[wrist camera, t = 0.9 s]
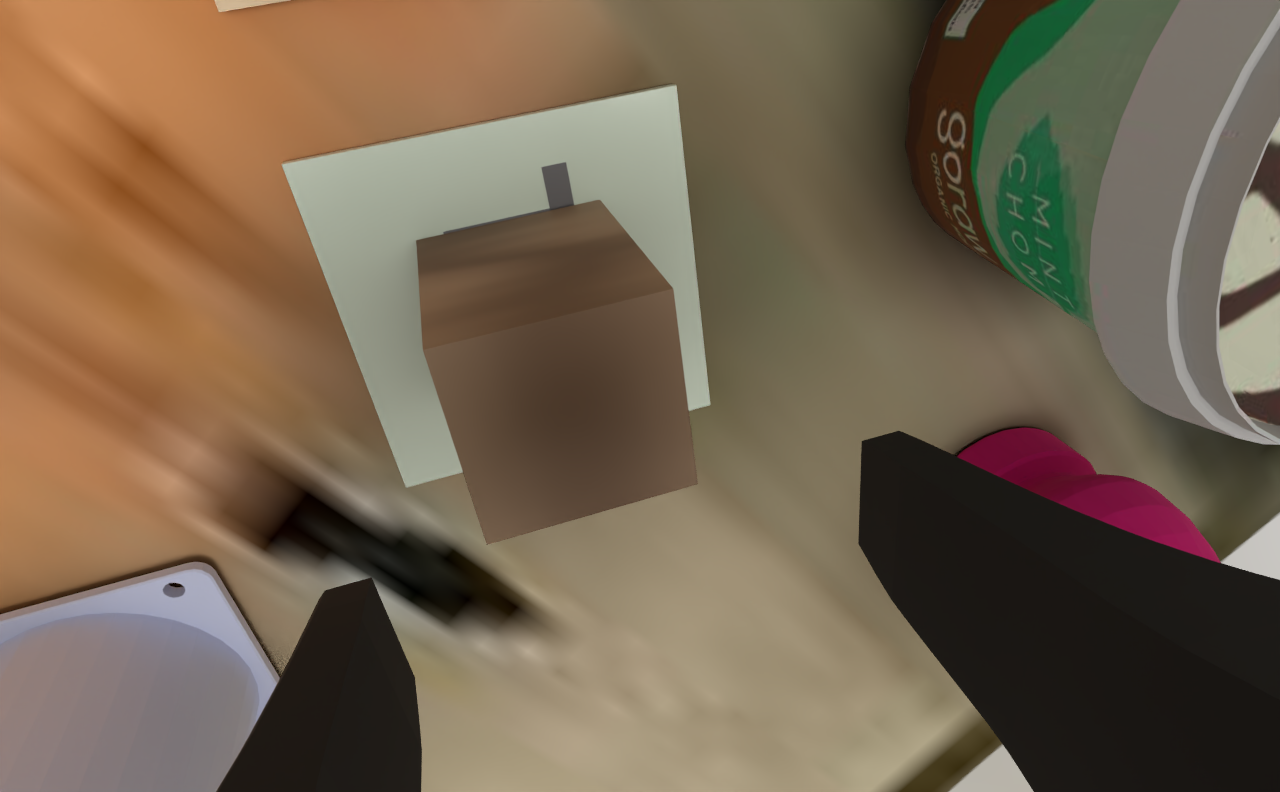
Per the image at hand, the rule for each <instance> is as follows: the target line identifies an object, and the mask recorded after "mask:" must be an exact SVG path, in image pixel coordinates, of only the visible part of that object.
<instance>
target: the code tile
mask: <svg viewBox="0 0 1280 792" xmlns="http://www.w3.org/2000/svg"><path fill="white" fill-rule="evenodd" d="M282 167H283V169H284V172H285V175H286V177H287V180H288V182H289V185H290V188H291V190H292V193H293V195H294V198H295V201H296V203H297V206H298V208H299V211H300V214H301V216H302V219H303V221H304V224H305V227H306V229H307V232H308V234H309V237H310V240H311V242H312V245H313V247H314V250H315V253H316V255H317V258H318V260H319V263H320V266H321V268H322V271H323V273H324V276H325V279H326V281H327V284H328V286H329V289H330V292H331V294H332V297H333V299H334V302H335V305H336V307H337V310H338V312H339V315H340V318H341V320H342V323H343V325H344V328H345V331H346V333H347V336H348V338H349V341H350V344H351V346H352V349H353V351H354V354H355V357H356V359H357V362H358V364H359V367H360V370H361V372H362V375H363V377H364V380H365V382H366V385H367V388H368V390H369V393H370V395H371V398H372V401H373V403H374V406H375V408H376V411H377V414H378V416H379V419H380V421H381V424H382V427H383V429H384V432H385V434H386V437H387V440H388V442H389V445H390V447H391V450H392V453H393V455H394V458H395V460H396V463H397V466H398V468H399V471H400V473H401V476H402V479H403V481H404V484H405V486H406V488H407V487H410V486H414V485H418V484H421V483H425V482H429V481H433V480H436V479H440V478H444V477H447V476H451V475H455V474H458V473H462V472H463V471H462V468H461V464H460V461H459V458H458V455H457V452H456V449H455V446H454V443H453V440H452V437H451V434H450V431H449V428H448V425H447V422H446V419H445V416H444V413H443V410H442V407H441V404H440V401H439V398H438V395H437V392H436V389H435V386H434V383H433V380H432V377H431V374H430V370H429V367H428V364H427V361H426V358H425V355H424V352H423V346H422V329H421V312H420V296H419V279H418V262H417V246H416V240H420V239H424V238H429V237H433V236H438V235H442V234H447V233H451V232H456V231H460V230H465V229H469V228H474V227H478V226H483V225H487V224H492V223H496V222H501V221H505V220H510V219H514V218H519V217H523V216H528V215H532V214H537V213H541V212H546V211H550V210H555V209H559V208H564V207H568V206H573V205H577V204H582V203H586V202H591V201H595V200H601V201H602V203H603V204H604V205H605V206H606V208H607V209H608V210H609V211H610V212H611V214H612V215H613V216H614V217H615V218H616V220H617V221H618V222H619V223H620V225H621V226H622V227H623V228H624V229H625V231H626V232H627V233H628V234H629V235H630V237H631V238H632V239H633V240H634V242H635V243H636V244H637V245H638V246H639V248H640V249H641V250H642V251H643V252H644V254H645V255H646V256H647V257H648V259H649V260H650V261H651V262H652V263H653V265H654V266H655V267H656V268H657V269H658V271H659V272H660V273H661V274H662V276H663V277H664V278H665V279H666V280H667V282H668V283H669V284H670V285H671V286H672V288H673V290H674V298H675V306H676V314H677V322H678V330H679V338H680V346H681V354H682V362H683V370H684V378H685V386H686V393H687V401H688V409H689V411H690V410H694V409H698V408H701V407H705V406H709V405H710V397H709V387H708V378H707V368H706V359H705V350H704V340H703V331H702V321H701V312H700V303H699V293H698V284H697V274H696V265H695V256H694V246H693V237H692V227H691V218H690V209H689V199H688V190H687V180H686V171H685V162H684V152H683V143H682V133H681V124H680V115H679V105H678V96H677V87H676V85H675V84H669V85H664V86H659V87H654V88H649V89H644V90H639V91H634V92H629V93H624V94H619V95H614V96H609V97H604V98H599V99H594V100H589V101H584V102H579V103H574V104H569V105H564V106H559V107H554V108H549V109H544V110H539V111H535V112H530V113H525V114H520V115H515V116H510V117H505V118H500V119H495V120H490V121H485V122H480V123H475V124H470V125H465V126H460V127H455V128H450V129H445V130H440V131H435V132H430V133H425V134H420V135H415V136H410V137H405V138H400V139H395V140H390V141H385V142H380V143H375V144H370V145H365V146H360V147H355V148H350V149H345V150H340V151H335V152H330V153H325V154H320V155H315V156H310V157H305V158H300V159H295V160H290V161H285V162H283V163H282Z"/></svg>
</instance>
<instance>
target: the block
mask: <svg viewBox="0 0 1280 792" xmlns="http://www.w3.org/2000/svg"><path fill="white" fill-rule="evenodd" d="M416 246H417V262H418V279H419V296H420V312H421V329H422V346H423V352H424V355H425V358H426V361H427V364H428V367H429V370H430V374H431V377H432V380H433V383H434V386H435V389H436V392H437V395H438V398H439V401H440V404H441V407H442V410H443V413H444V416H445V419H446V422H447V425H448V428H449V431H450V434H451V437H452V440H453V443H454V446H455V449H456V452H457V455H458V458H459V461H460V464H461V468H462V471H463V474H464V477H465V480H466V483H467V486H468V489H469V492H470V495H471V498H472V501H473V504H474V507H475V510H476V513H477V516H478V519H479V522H480V525H481V528H482V531H483V534H484V537H485V540H486V543H487V545H488V544H491V543H495V542H498V541H501V540H505V539H508V538H512V537H515V536H519V535H522V534H526V533H529V532H533V531H536V530H540V529H543V528H547V527H550V526H554V525H557V524H561V523H564V522H567V521H571V520H574V519H578V518H581V517H585V516H588V515H592V514H595V513H599V512H602V511H606V510H609V509H613V508H616V507H620V506H623V505H627V504H630V503H634V502H637V501H640V500H644V499H647V498H651V497H654V496H658V495H661V494H665V493H668V492H672V491H675V490H679V489H682V488H686V487H689V486H693V485H696V484H698V481H697V473H696V465H695V457H694V449H693V441H692V433H691V425H690V417H689V409H688V401H687V393H686V386H685V378H684V370H683V362H682V354H681V346H680V338H679V330H678V322H677V314H676V306H675V298H674V290H673V288H672V286H671V285H670V284H669V283H668V282H667V280H666V279H665V278H664V277H663V276H662V274H661V273H660V272H659V271H658V269H657V268H656V267H655V266H654V265H653V263H652V262H651V261H650V260H649V259H648V257H647V256H646V255H645V254H644V252H643V251H642V250H641V249H640V248H639V246H638V245H637V244H636V243H635V242H634V240H633V239H632V238H631V237H630V235H629V234H628V233H627V232H626V231H625V229H624V228H623V227H622V226H621V225H620V223H619V222H618V221H617V220H616V218H615V217H614V216H613V215H612V214H611V212H610V211H609V210H608V209H607V208H606V206H605V205H604V204H603V203H602V201H601V200H595V201H591V202H586V203H582V204H577V205H573V206H568V207H564V208H559V209H555V210H550V211H546V212H541V213H537V214H532V215H528V216H523V217H519V218H514V219H510V220H505V221H501V222H496V223H492V224H487V225H483V226H478V227H474V228H469V229H465V230H460V231H456V232H451V233H447V234H442V235H438V236H433V237H429V238H424V239H420V240H416Z"/></svg>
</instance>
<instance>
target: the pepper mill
mask: <svg viewBox="0 0 1280 792" xmlns="http://www.w3.org/2000/svg"><path fill="white" fill-rule="evenodd" d="M957 457H958V458H960V459H963V460H965V461H967V462H969V463H971V464H973V465H975V466H977V467H979V468H982V469H984V470H986V471H988V472H990V473H992V474H994V475H997V476H999V477H1001V478H1003V479H1005V480H1007V481H1009V482H1012V483H1014V484H1016V485H1018V486H1020V487H1023V488H1025V489H1027V490H1029V491H1031V492H1034V493H1036V494H1038V495H1041V496H1043V497H1045V498H1047V499H1050V500H1052V501H1054V502H1057V503H1059V504H1061V505H1064V506H1066V507H1068V508H1071V509H1073V510H1075V511H1078V512H1080V513H1083V514H1085V515H1088V516H1090V517H1093V518H1095V519H1098V520H1100V521H1103V522H1105V523H1108V524H1110V525H1113V526H1115V527H1118V528H1120V529H1123V530H1125V531H1128V532H1131V533H1133V534H1136V535H1139V536H1142V537H1144V538H1147V539H1150V540H1153V541H1155V542H1158V543H1161V544H1164V545H1167V546H1170V547H1173V548H1176V549H1179V550H1182V551H1185V552H1188V553H1191V554H1194V555H1197V556H1200V557H1203V558H1206V559H1209V560H1212V561H1215V562H1219V563H1221V562H1220V561H1219V559H1218V557H1217V555H1216V553H1215V552H1214V550H1213V549H1212V547H1211V546H1210V545H1209V543H1208V542H1207V541H1206V540H1205V538H1204V537H1203V536H1202V534H1201V533H1200V532H1199V531H1198V529H1197V528H1196V527H1195V525H1194V524H1193V523H1192V521H1191V520H1190V519H1189V518H1188V517H1187V516H1186V515H1185V514H1184V513H1182V512H1181V511H1180V510H1179V509H1178V508H1177V507H1175V506H1174V505H1173V504H1172V503H1171V502H1170V501H1168V500H1167V499H1166V498H1165V497H1164V496H1163V495H1162V494H1160V493H1159V492H1158V491H1157V490H1155V489H1153V488H1152V487H1150V486H1148V485H1146V484H1144V483H1142V482H1139V481H1137V480H1134V479H1132V478H1128V477H1123V476H1114V475H1102V474H1098V475H1097V474H1096V472H1095V470H1094V468H1093V467H1092V465H1091V464H1090V462H1089V461H1088V460H1087V459H1085V458H1084V457H1083V456H1081V455H1080V454H1079V453H1077V452H1076V451H1075V450H1073V449H1072V448H1070V447H1069V446H1068V445H1066V444H1065V443H1063V442H1062V441H1061V440H1059V439H1058V438H1057V437H1055V436H1054V435H1052V434H1051V433H1049V432H1046V431H1044V430H1040V429H1035V428H1025V427H1023V428H1016V429H1009V430H1003V431H1000V432H998V433H995V434H992V435H990V436H987V437H985V438H983V439H981V440H979V441H978V442H976V443H974V444H973V445H971V446H970V447H968V448H966V449H965V450H963V451H962V452H961V453H960V454H959V455H958V456H957Z"/></svg>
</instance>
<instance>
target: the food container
mask: <svg viewBox="0 0 1280 792" xmlns="http://www.w3.org/2000/svg"><path fill="white" fill-rule="evenodd" d="M905 147H906V152H907V157H908V162H909V167H910V172H911V177H912V182H913V185H914V187H915V190H916V192H917V194H918V196H919V199H920V201H921V203H922V205H923V206H924V208H925V209H926V211H927V212H928V213H929V215H930V216H931V218H932V219H933V220H934V222H935V223H937V224H938V225H939V226H940V227H941V228H942V229H943V230H944V231H946V232H947V233H948V234H949V235H950V236H952V237H953V238H955V239H956V240H958V241H960V242H961V243H963V244H964V245H966V246H967V247H969V248H970V249H972V250H973V251H975V252H976V253H978V254H979V255H981V256H982V257H984V258H985V259H987V260H988V261H990V262H991V263H993V264H994V265H996V266H997V267H999V268H1000V269H1002V270H1003V271H1005V272H1006V273H1008V274H1009V275H1011V276H1012V277H1014V278H1015V279H1017V280H1018V281H1020V282H1021V283H1023V284H1024V285H1026V286H1028V287H1029V288H1031V289H1032V290H1034V291H1035V292H1037V293H1038V294H1040V295H1041V296H1043V297H1044V298H1046V299H1047V300H1049V301H1050V302H1052V303H1053V304H1055V305H1056V306H1058V307H1059V308H1061V309H1062V310H1064V311H1065V312H1067V313H1068V314H1070V315H1071V316H1073V317H1074V318H1076V319H1077V320H1079V321H1080V322H1082V323H1083V324H1085V325H1086V326H1088V327H1089V328H1091V329H1092V330H1094V331H1096V332H1097V333H1098V336H1099V339H1100V342H1101V345H1102V348H1103V351H1104V354H1105V357H1106V358H1107V360H1108V361H1109V363H1110V365H1111V366H1112V368H1113V369H1114V371H1115V373H1116V374H1117V376H1118V377H1119V379H1120V381H1121V382H1122V383H1123V384H1124V385H1125V386H1126V387H1127V388H1128V389H1129V390H1130V391H1132V392H1133V393H1134V394H1135V395H1136V396H1137V397H1138V398H1139V399H1140V400H1141V401H1142V402H1144V403H1146V404H1148V405H1150V406H1152V407H1154V408H1156V409H1157V410H1159V411H1161V412H1163V413H1165V414H1167V415H1170V416H1173V417H1176V418H1179V419H1182V420H1185V421H1188V422H1191V423H1194V424H1197V425H1200V426H1202V427H1205V428H1208V429H1211V430H1214V431H1217V432H1220V433H1223V434H1226V435H1229V436H1232V437H1235V438H1239V439H1244V440H1248V441H1252V442H1256V443H1260V444H1280V0H946V1H945V3H944V4H943V6H942V7H941V9H940V11H939V12H938V14H937V15H936V17H935V19H934V20H933V22H932V24H931V27H930V30H929V33H928V36H927V38H926V41H925V44H924V47H923V50H922V53H921V56H920V59H919V62H918V65H917V68H916V70H915V73H914V76H913V79H912V82H911V85H910V92H909V104H908V116H907V128H906V141H905Z"/></svg>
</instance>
